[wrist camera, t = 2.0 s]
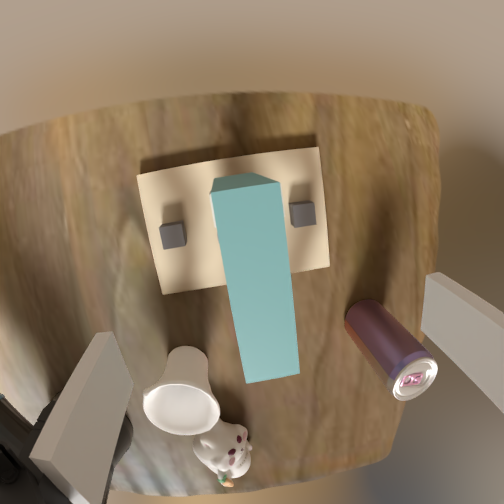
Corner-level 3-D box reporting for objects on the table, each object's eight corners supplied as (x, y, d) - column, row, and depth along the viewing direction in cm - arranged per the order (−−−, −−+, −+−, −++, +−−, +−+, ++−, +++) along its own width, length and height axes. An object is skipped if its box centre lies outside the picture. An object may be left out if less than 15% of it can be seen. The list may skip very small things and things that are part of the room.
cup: (174, 322, 39) (163, 369, 29) (232, 358, 41) (237, 408, 32) (140, 364, 40) (126, 413, 31) (195, 395, 43) (193, 446, 33)
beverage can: (349, 295, 40) (404, 358, 26) (385, 298, 41) (447, 354, 27) (337, 334, 42) (383, 405, 28) (374, 335, 43) (425, 398, 29)
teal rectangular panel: (232, 293, 30) (244, 383, 18) (213, 177, 27) (208, 193, 14) (268, 288, 30) (301, 372, 18) (252, 171, 27) (281, 181, 14)
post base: (164, 289, 38) (154, 318, 30) (139, 174, 33) (120, 178, 26) (325, 262, 39) (348, 285, 32) (314, 147, 35) (338, 145, 27)
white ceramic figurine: (244, 499, 39) (215, 463, 33) (203, 485, 43) (166, 445, 37) (266, 455, 47) (245, 409, 41) (226, 445, 50) (198, 398, 44)
